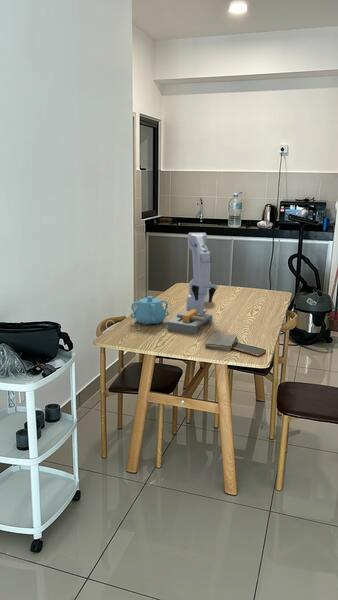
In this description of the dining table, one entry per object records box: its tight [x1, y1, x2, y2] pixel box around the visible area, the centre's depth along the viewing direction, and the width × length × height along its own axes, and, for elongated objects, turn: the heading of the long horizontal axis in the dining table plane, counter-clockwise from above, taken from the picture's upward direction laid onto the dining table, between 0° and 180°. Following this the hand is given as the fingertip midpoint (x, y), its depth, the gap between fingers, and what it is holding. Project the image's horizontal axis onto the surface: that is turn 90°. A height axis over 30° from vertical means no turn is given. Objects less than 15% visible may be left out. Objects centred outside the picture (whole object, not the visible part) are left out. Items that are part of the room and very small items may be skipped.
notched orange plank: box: [182, 309, 198, 323], centre depth 239 cm, size 12×3×5 cm, turn 154°
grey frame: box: [166, 310, 213, 335], centre depth 240 cm, size 15×22×6 cm
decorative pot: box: [130, 295, 170, 326], centre depth 244 cm, size 20×20×14 cm
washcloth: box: [204, 332, 238, 352], centre depth 215 cm, size 12×18×3 cm, turn 163°
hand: (203, 301), depth 247 cm, fingers open, 7 cm apart
